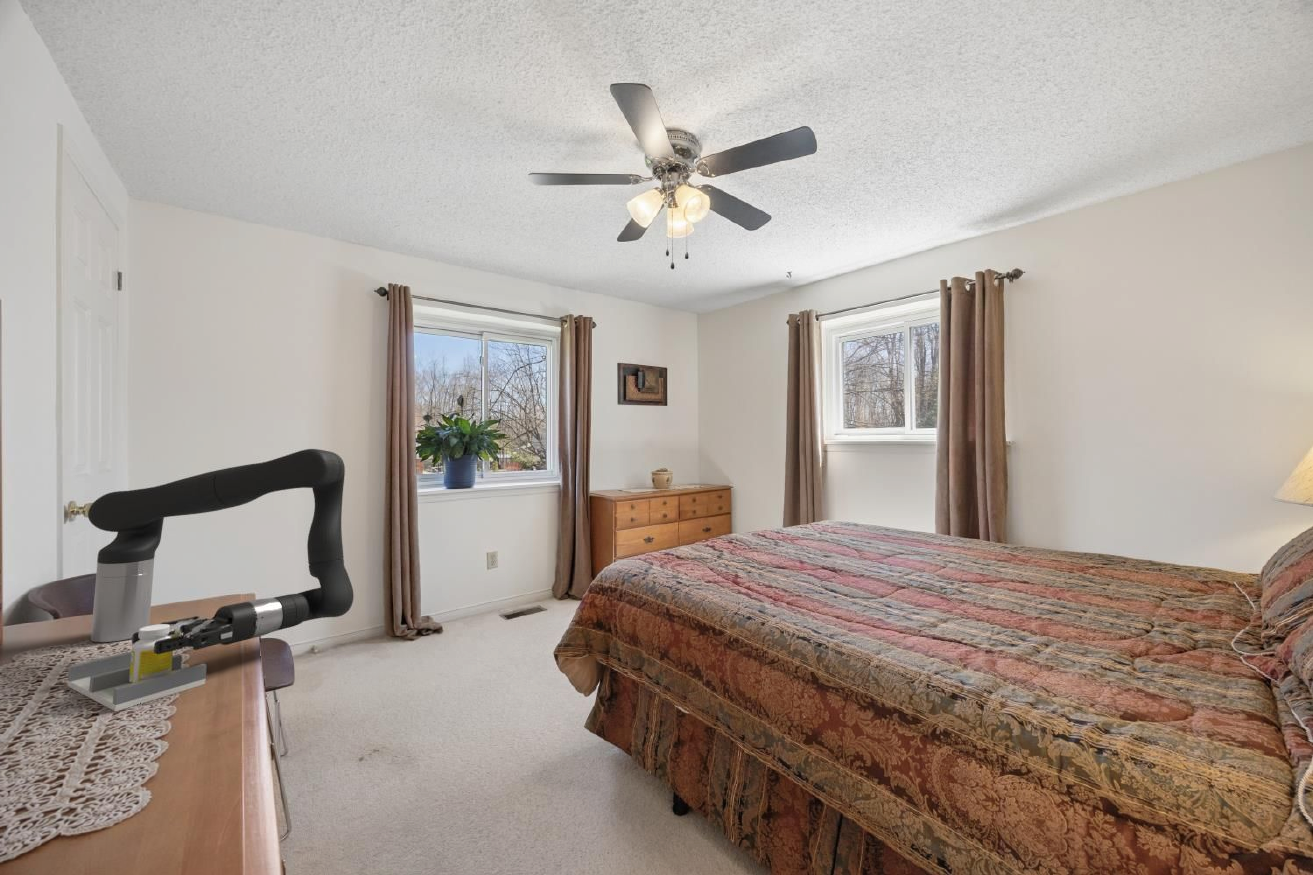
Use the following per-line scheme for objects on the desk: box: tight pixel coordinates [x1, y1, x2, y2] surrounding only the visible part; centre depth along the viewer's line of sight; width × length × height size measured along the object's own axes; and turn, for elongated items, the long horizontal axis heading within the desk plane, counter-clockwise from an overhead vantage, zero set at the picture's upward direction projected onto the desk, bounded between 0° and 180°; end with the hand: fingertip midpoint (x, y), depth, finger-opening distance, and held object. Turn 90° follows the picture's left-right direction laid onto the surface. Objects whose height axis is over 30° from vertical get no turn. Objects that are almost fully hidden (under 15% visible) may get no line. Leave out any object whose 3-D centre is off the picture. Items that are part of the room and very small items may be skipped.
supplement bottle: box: [129, 623, 174, 684], centre depth 92 cm, size 5×5×10 cm
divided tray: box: [66, 650, 207, 712], centre depth 94 cm, size 20×12×4 cm, turn 64°
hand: (143, 643), depth 91 cm, fingers open, 8 cm apart
